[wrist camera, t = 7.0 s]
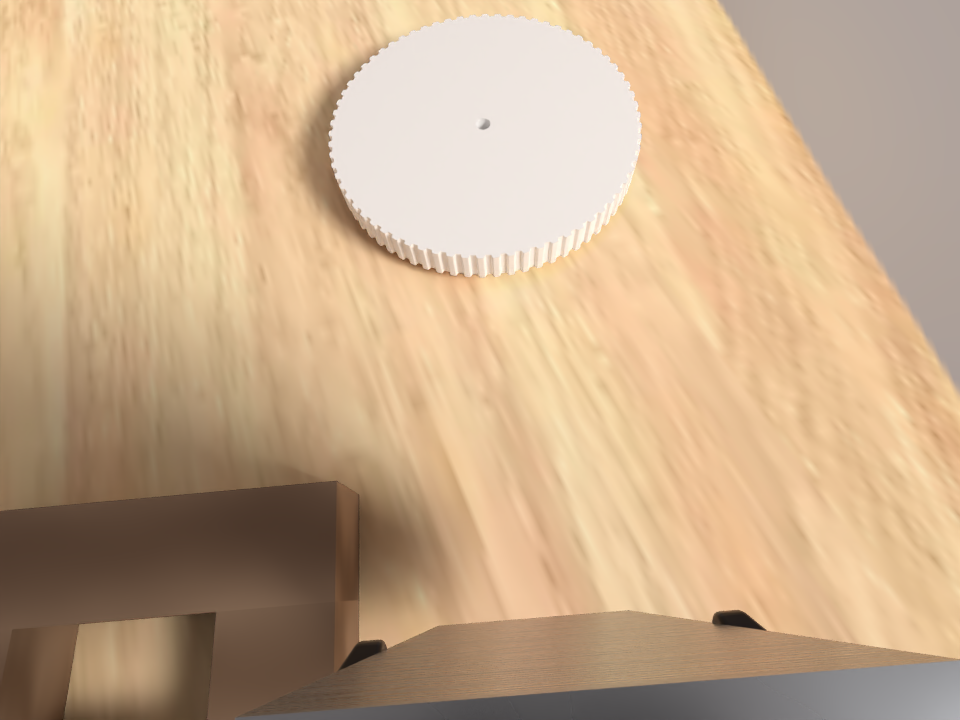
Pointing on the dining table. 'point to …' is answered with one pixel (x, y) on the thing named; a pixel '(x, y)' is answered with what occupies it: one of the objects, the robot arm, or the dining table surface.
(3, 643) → the holder box
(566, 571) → the dining table surface
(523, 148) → the plastic lid
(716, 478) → the dining table surface
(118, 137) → the dining table surface
